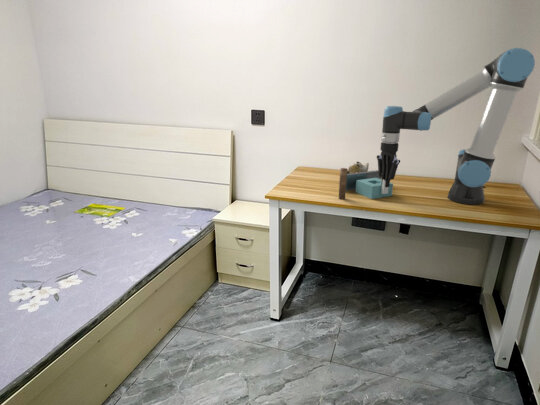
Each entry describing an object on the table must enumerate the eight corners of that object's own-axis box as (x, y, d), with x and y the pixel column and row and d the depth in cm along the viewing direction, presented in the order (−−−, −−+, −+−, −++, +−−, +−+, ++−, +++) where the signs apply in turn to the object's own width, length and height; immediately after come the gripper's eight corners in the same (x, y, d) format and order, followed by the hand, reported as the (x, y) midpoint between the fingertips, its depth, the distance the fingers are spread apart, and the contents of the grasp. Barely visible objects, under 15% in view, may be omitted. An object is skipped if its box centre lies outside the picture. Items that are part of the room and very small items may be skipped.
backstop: (380, 186, 202) (381, 170, 199) (341, 191, 192) (342, 175, 189) (377, 185, 203) (379, 170, 201) (338, 190, 194) (339, 174, 191)
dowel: (346, 198, 181) (348, 169, 177) (341, 199, 180) (343, 169, 175) (342, 197, 184) (344, 167, 179) (337, 197, 182) (339, 168, 178)
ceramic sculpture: (373, 161, 216) (349, 165, 212) (373, 177, 219) (349, 180, 214) (363, 158, 225) (339, 161, 221) (363, 172, 228) (339, 176, 224)
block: (391, 195, 186) (393, 183, 184) (371, 199, 181) (372, 186, 179) (375, 189, 196) (376, 177, 194) (355, 192, 191) (356, 180, 190)
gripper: (373, 140, 178) (368, 190, 185) (393, 144, 167) (388, 198, 174) (386, 139, 181) (381, 188, 188) (407, 143, 170) (400, 196, 177)
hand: (384, 193), depth 181 cm, fingers closed
